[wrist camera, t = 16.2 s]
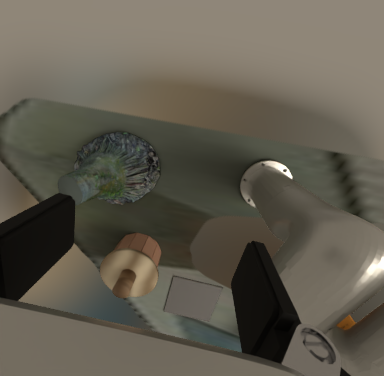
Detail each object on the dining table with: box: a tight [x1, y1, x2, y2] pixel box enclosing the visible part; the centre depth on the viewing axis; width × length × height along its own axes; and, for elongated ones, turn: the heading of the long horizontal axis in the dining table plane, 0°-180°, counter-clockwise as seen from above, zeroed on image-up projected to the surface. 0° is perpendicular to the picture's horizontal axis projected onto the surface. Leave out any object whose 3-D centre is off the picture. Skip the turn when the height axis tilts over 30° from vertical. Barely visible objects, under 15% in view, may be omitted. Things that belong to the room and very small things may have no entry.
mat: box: [164, 276, 223, 322], centre depth 63 cm, size 16×16×1 cm
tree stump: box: [58, 132, 160, 205], centre depth 44 cm, size 18×20×18 cm
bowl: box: [113, 233, 161, 267], centre depth 54 cm, size 13×13×8 cm
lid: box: [100, 248, 158, 298], centre depth 48 cm, size 15×15×6 cm
